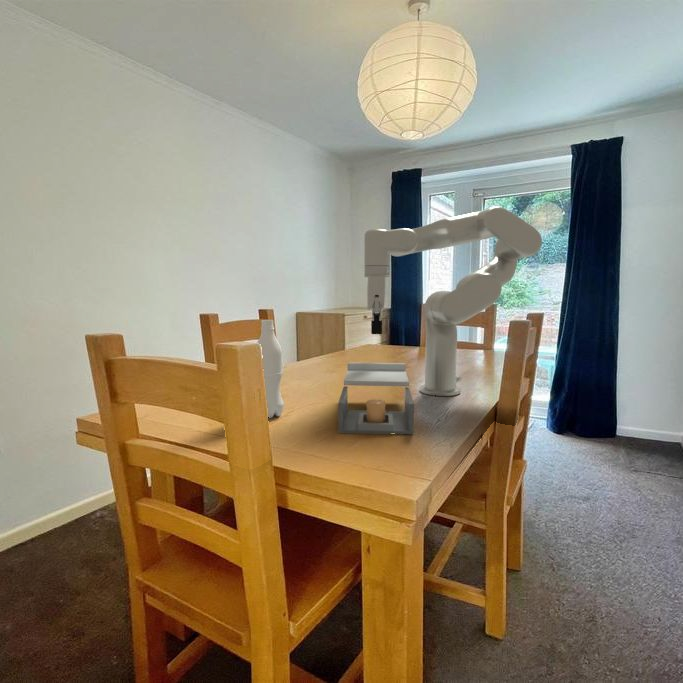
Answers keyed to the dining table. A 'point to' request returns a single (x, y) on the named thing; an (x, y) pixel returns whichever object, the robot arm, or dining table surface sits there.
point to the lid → (376, 374)
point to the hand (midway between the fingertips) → (376, 332)
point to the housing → (358, 423)
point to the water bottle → (271, 368)
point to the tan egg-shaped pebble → (375, 411)
